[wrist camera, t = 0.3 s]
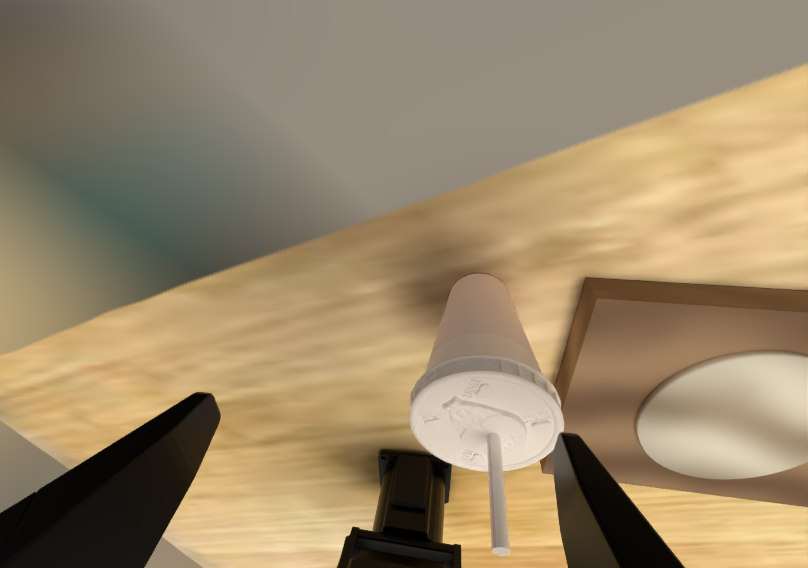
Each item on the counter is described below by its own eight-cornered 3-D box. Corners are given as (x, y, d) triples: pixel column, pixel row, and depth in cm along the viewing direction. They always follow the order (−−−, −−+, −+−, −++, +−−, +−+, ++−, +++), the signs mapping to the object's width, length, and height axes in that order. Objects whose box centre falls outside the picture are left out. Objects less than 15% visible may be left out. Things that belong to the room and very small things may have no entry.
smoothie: (477, 352, 26) (485, 602, 14) (407, 298, 24) (350, 528, 12) (553, 299, 23) (645, 562, 11) (479, 232, 21) (493, 456, 9)
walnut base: (818, 480, 27) (849, 519, 25) (537, 447, 30) (543, 479, 28) (997, 302, 19) (1068, 336, 17) (585, 277, 22) (599, 303, 19)
